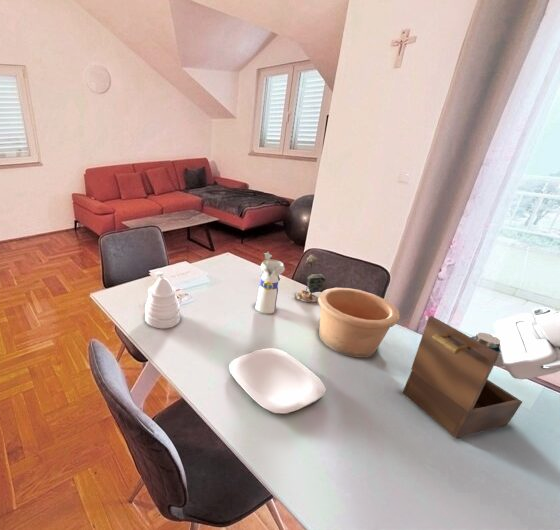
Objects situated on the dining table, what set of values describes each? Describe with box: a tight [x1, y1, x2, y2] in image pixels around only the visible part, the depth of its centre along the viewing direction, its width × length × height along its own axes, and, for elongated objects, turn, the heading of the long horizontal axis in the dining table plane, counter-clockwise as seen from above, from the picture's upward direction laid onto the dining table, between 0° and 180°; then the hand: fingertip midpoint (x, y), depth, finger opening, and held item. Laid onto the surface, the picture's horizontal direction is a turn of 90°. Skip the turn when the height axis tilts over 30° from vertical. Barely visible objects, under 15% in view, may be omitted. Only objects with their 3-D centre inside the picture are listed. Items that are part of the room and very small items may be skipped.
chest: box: [401, 370, 523, 439], centre depth 78 cm, size 16×14×8 cm
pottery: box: [317, 287, 400, 358], centre depth 101 cm, size 22×22×14 cm
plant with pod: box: [294, 254, 326, 303], centre depth 125 cm, size 8×11×20 cm
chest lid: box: [410, 315, 499, 413], centre depth 71 cm, size 16×14×4 cm
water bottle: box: [254, 251, 286, 315], centre depth 117 cm, size 8×9×25 cm
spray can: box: [471, 332, 501, 354], centre depth 72 cm, size 5×5×11 cm
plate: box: [228, 347, 327, 415], centre depth 87 cm, size 22×22×2 cm
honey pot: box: [144, 270, 181, 329], centre depth 112 cm, size 13×13×18 cm
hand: (476, 354), depth 73 cm, fingers closed on spray can, 5 cm apart
